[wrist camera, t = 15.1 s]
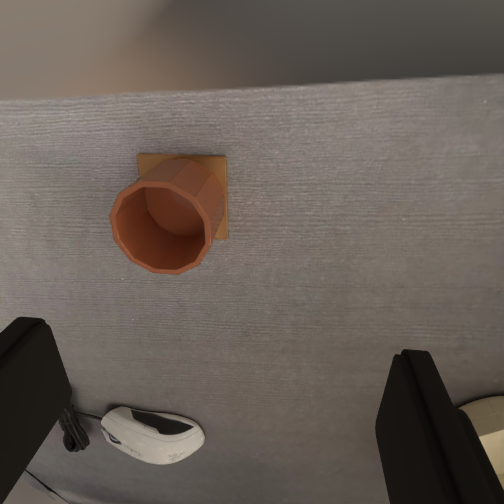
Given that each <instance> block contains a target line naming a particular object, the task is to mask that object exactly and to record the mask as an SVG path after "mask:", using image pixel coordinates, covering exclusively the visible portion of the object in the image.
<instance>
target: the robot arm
mask: <svg viewBox="0 0 504 504" xmlns="http://www.w3.org/2000/svg"><path fill="white" fill-rule="evenodd" d="M71 395H72V389H71V386H70V383H69V380H68V377H67V374H66V371H65V368H64V366H63V363H62V360H61V357H60V354H59V351H58V348H57V345H56V342H55V339H54V336H53V333H52V330H51V328H50V326H49V325H48V324H46V322H45V320H43V319H41V318H31V317H18V318H17V319H15V320H14V321H13V322H12V323H11V324H10V325H9V326H7V327H6V328H5V329H4V330H3V331H2V332H1V333H0V504H3V502H4V501H5V499H6V498H7V496H8V494H9V493H10V491H11V490H12V488H13V487H14V485H15V484H16V482H17V481H18V479H19V478H20V476H21V475H22V473H23V472H24V470H25V469H26V467H27V466H28V464H29V463H30V461H31V460H32V458H33V457H34V455H35V453H36V452H37V450H38V449H39V447H40V446H41V444H42V443H43V441H44V440H45V438H46V437H47V435H48V434H49V432H50V431H51V429H52V428H53V426H54V425H55V423H56V422H57V420H58V419H59V417H60V416H61V414H62V412H63V411H64V409H65V408H66V406H67V405H68V403H69V401H70V399H71ZM375 430H376V438H377V443H378V448H379V452H380V457H381V462H382V467H383V472H384V477H385V482H386V486H387V491H388V496H389V501H390V504H504V489H503V487H502V485H501V483H500V481H499V479H498V476H497V474H496V472H495V470H494V468H493V466H492V464H491V462H490V460H489V458H488V455H487V453H486V451H485V449H484V447H483V445H482V443H481V441H480V439H479V436H478V434H477V432H476V430H475V428H474V426H473V424H472V422H471V420H470V418H469V416H468V415H467V413H466V412H465V411H463V410H462V409H458V408H454V406H453V404H452V402H451V399H450V397H449V395H448V393H447V390H446V388H445V386H444V384H443V381H442V379H441V377H440V375H439V372H438V370H437V368H436V366H435V363H434V361H433V359H432V357H431V355H430V353H429V352H428V351H420V350H409V349H403V350H402V352H401V355H399V354H395V355H394V357H393V361H392V365H391V368H390V372H389V375H388V379H387V383H386V386H385V390H384V394H383V397H382V401H381V404H380V408H379V412H378V415H377V419H376V425H375Z"/></svg>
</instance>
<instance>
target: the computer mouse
mask: <svg viewBox="0 0 504 504" xmlns="http://www.w3.org/2000/svg"><path fill="white" fill-rule="evenodd" d="M73 406H74V405H72V407H71V406H70V401H69V403H68V405H67V406H66V408H65V409H64V411H63V412H62V414H61V416H60V417H59V424H60V426H61V428H62V430H63V431H64V432H65V433H64V437H63V443H64V445H65V447H66V449H67V450H68V451H69V452H74V451H75V452H78V451H79V450H80V449H81V450H85V448H86V446H88V445H89V443H90V441H89V439H88V436H87V435H86V432H85V430H84V429H83V428H82V426H81V425H80V423H79V421H78V419H77V418H76V416H75V414H76V415H81V416H86V417H90V418H94V419H98V420H101V425H102V426H103V427H104V429H101V431H102V432H103V434H104V436H105V440H107V441H108V442H110V443H111V444H112V445H114V446H115V447H117V448H118V449H120V450H122V451H123V452H125V453H127V454H129V455H131V456H133V457H135V458H137V459H139V460H142V461H145V462H148V463H153V464H170V463H174V462H177V461H180V460H182V459H184V458H186V457H187V456H189V455H191V454H192V453H194V452H195V451H196V450H197V449H199V448H200V447H201V446H202V445H203V443H204V440H205V438H204V433H203V431H202V430H201V428H200V427H199V425H198V424H197V423H196V422H194V421H193V420H191V419H188V418H185V417H182V416H178V415H173V414H167V413H153V412H145V411H140V410H135V409H131V408H128V407H118V408H115V409H113V410H111V411H109V412H108V413H107V414H106V415H105V416H104V417H103V418H101V417H97V416H93V415H90V414H85V413H79V412H76V411H74V410H73Z"/></svg>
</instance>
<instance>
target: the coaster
mask: <svg viewBox="0 0 504 504" xmlns="http://www.w3.org/2000/svg"><path fill="white" fill-rule="evenodd" d="M174 158H183V159H189V160H192V161H195V162H198V163H200V164H201V165H203V166H205V167H206V168H207V169H209V170H210V171H211V172H212V173H213V174H214V175H215V177H216V178H217V179H218V181H219V183H220V185H221V187H222V189H223V192H224V196H225V209H224V217H223V219H222V221H221V224H220V226H219V228H218V231H217V233H216V235H215V238H214V239H228V199H227V160H226V156H217V155H185V154H153V153H139V154H137V162H138V169H139V176H142V175H143V174H144V173H146V172H147V171H148V170H150V169H151V168H153V167H155V166H156V165H158V164H159V163H161V162H163V161H165V160H167V159H174Z"/></svg>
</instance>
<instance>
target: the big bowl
mask: <svg viewBox="0 0 504 504" xmlns="http://www.w3.org/2000/svg"><path fill="white" fill-rule="evenodd" d="M458 409H462V410H463V411H465V412H466V413H467V415H468V416H469V418H470V420H471V422H472V424H473V426H474V428H475V430H476V432H477V434H478V436H479V439H480V441H481V443H482V445H483V447H484V449H485V451H486V453H487V455H488V458H489V460H490V462H491V464H492V466H493V468H494V470H495V472H496V474H497V476H498V479H499V481H500V483H501V485H502V487H503V489H504V396H495V397H489V398H484V399H480V400H477V401H473V402H471V403H468V404H466V405H463V406H461V407H459V408H458Z"/></svg>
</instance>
